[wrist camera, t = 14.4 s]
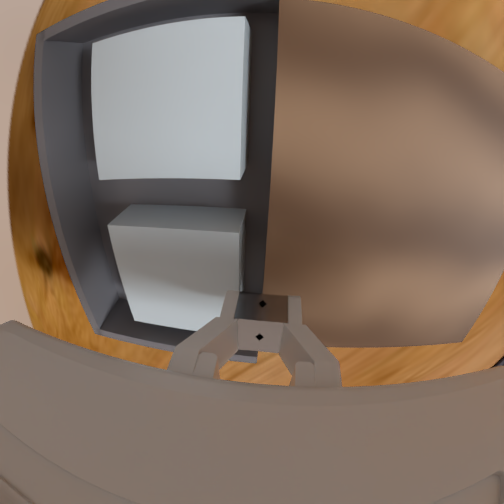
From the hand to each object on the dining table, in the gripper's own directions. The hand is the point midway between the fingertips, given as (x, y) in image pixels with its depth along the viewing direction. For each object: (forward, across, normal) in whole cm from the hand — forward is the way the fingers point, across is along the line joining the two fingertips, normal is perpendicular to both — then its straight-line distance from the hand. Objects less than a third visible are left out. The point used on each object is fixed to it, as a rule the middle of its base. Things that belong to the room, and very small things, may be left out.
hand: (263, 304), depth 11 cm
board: (+4, -7, -4) cm, 9 cm away
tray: (+4, +5, -4) cm, 8 cm away
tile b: (+3, +4, 0) cm, 5 cm away
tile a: (+3, +4, -8) cm, 10 cm away
